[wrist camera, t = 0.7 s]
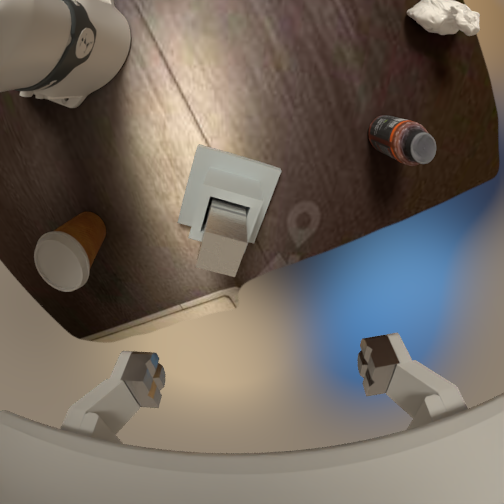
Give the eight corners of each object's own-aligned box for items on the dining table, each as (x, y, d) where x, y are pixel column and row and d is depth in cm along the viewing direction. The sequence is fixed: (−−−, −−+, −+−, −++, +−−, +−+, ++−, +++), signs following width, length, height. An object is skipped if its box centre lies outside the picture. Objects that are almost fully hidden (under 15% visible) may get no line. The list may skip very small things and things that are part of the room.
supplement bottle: (394, 157, 41) (433, 179, 31) (361, 145, 40) (397, 163, 30) (405, 122, 38) (448, 136, 28) (373, 108, 37) (412, 117, 28)
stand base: (179, 218, 45) (165, 251, 37) (199, 144, 40) (187, 159, 31) (253, 239, 47) (256, 275, 39) (280, 168, 42) (290, 190, 33)
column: (209, 206, 43) (195, 267, 29) (217, 180, 41) (205, 231, 27) (236, 213, 43) (235, 277, 30) (245, 188, 42) (247, 242, 28)
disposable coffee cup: (105, 261, 49) (78, 304, 38) (62, 236, 46) (28, 274, 35) (122, 219, 45) (93, 258, 34) (75, 192, 42) (36, 224, 31)
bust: (398, 27, 32) (448, 64, 27) (393, -11, 25) (451, 22, 21) (446, 15, 29) (494, 50, 25) (444, -19, 22) (499, 13, 18)
